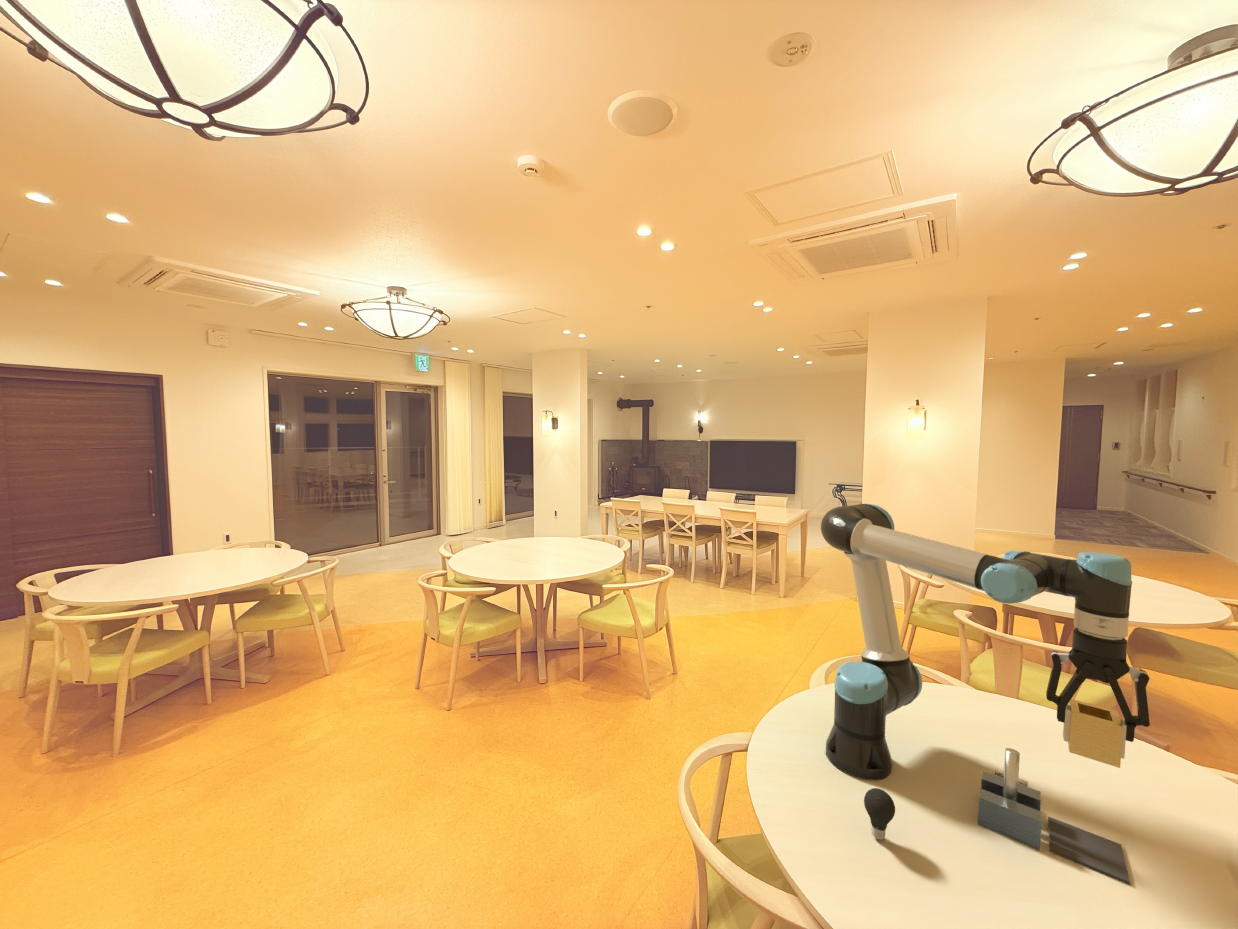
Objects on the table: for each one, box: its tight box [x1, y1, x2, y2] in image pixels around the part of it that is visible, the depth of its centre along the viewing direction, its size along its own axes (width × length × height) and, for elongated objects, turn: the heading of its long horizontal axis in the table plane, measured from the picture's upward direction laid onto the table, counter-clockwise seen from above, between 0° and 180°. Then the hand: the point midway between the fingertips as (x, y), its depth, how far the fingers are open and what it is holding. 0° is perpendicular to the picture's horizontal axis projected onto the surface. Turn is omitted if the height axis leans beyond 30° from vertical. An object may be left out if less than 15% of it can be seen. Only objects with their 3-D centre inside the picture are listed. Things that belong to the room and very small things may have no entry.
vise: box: [977, 747, 1043, 852], centre depth 106 cm, size 10×18×16 cm, turn 140°
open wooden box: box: [1067, 698, 1123, 769], centre depth 95 cm, size 7×7×8 cm
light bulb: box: [863, 787, 896, 841], centre depth 98 cm, size 6×6×10 cm
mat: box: [1047, 816, 1131, 886], centre depth 96 cm, size 11×11×1 cm
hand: (1092, 746), depth 95 cm, fingers closed on open wooden box, 7 cm apart
